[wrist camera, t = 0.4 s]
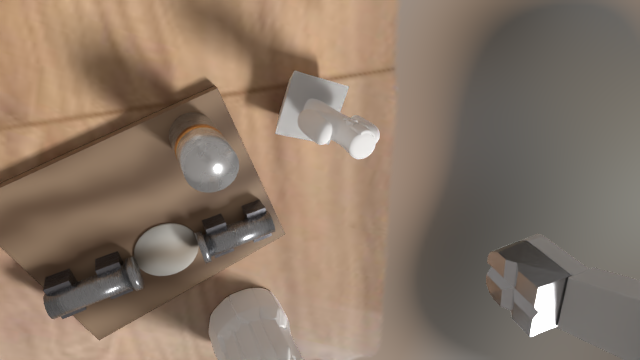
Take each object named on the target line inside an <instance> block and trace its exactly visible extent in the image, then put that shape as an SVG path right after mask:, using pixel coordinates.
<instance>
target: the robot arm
mask: <svg viewBox="0 0 640 360" xmlns="http://www.w3.org/2000/svg"><path fill="white" fill-rule="evenodd" d="M487 263H489V264H490V265H491V266H492V267H491V269H490V270H489V271H488V273H487V276H486V284H487V287H488V290H489V292H490V294H491V296H492V297H493V299H494V300H495V301H496V302H497V303H498V304H499V305H500V306H501V307H503V308H506V309H508V310H511V314H512V319H513V320H514V321H515V322H516V323H517V324H518V325H519V326H520V327H521V328H522V329H523V330H524V331H525V333H526V334H527V335H528V336H529V337H531V336H533V335H536V334H539V333H541V332H544V331H546V330H548V329H551V328H554V327H556V326H558V327H557V328H558V329H560V330H563V331H565V332H567V333H569V334H571V335H573V336H575V337H577V338H579V339H581V340H583V341H585V342H588V343H590V344H592V345H594V346H596V347H598V348H600V349H602V350H604V351H606V352H609V353H611V354H613V355H615V356H617V357H619V358H621V359H623V360H640V280H638V279H634V278H630V277H627V276H623V275H620V274H616V273H613V272H609V271H605V270H602V269H598V268H590V269H589V268H587V267H586V266H584V265H583V264H582V263H580V262H579V261H578V260H576V259H575V258H573V257H572V256H571V255H569V254H568V253H566V252H565V251H564V250H562V249H561V248H560V247H558V246H557V245H556V244H554V243H553V242H552V241H550V240H549V239H547V238H546V237H545V236H543V235H540V234H536V235H534V236H531V237H528V238H526V239H523V240H521V241H517V242H514V243H512V244H509V245H507V246H504V247H502V248H499V249H496V250H494V251H491V252H490V254H489V255H488V262H487Z"/></svg>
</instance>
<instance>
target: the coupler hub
mask: <svg viewBox="0 0 640 360" xmlns="http://www.w3.org/2000/svg"><path fill="white" fill-rule="evenodd" d="M169 140H170V143H171V146H172V148H173V150H174V153H175V155H176V158H177V161H178V163H179V165H180V167H181V170H182V172H183V174H184V177H185V179H186V181H187V182H188V184H189V185H190V186H191V187H193V188H194V189H196V190H198V191H201V192H206V193H211V192H217V191H220V190H222V189H224V188H226V187H227V186H229V185H230V184H231V183H232V182H233V181H234V179H235V178H236V176H237V174H238V170H239V160H238V157H237V155H236V153H235V152H234V150H233V149H232V147H231V146H230V145H229V143H228V142H227V141H226V139H225V138H224V136H223V135H222V134H221V132H220V131H219V130H218V129H217V127H216V126H215V125H214V123H213V122H212V121H211V119H209V118H208V117H207V116H205V115H203V114H201V113H195V112H191V113H186V114H183V115H181V116H179V117H178V118H177V119H176V120H175V121H174V122H173V123H172V125H171V127H170V130H169Z"/></svg>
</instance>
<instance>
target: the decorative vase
mask: <svg viewBox="0 0 640 360" xmlns="http://www.w3.org/2000/svg"><path fill="white" fill-rule="evenodd" d="M208 333H209V337H210V340H211V343H212V347H213V350H214V353H215V355H216V357H217V359H218V360H304V359H303V357H302V355H301V353H300V351H299V349H298V347H297V345H296V343H295V341H294V339H293V338H292V336H291V333H290V326H289V320H288V319H287V316H286V314H285V312H284V310H283V308H282V307H281V305H280V303H279V301H278V299H277V298H276V297H275V295H274V294H273V293H272V292H271V291H268V290H267V289H263V288H252V289H251V288H248V289H244V290H241V291H239V292H236V293H233V294H231V295H230V296H229V297H228V296H227V297H226V298H225V299H224V300H223V301H222V302H221V303H220V304H219V305H218V306H217V307H216V308H215V310H214V311H213V312H212V315H211V316H210V322H209V332H208Z"/></svg>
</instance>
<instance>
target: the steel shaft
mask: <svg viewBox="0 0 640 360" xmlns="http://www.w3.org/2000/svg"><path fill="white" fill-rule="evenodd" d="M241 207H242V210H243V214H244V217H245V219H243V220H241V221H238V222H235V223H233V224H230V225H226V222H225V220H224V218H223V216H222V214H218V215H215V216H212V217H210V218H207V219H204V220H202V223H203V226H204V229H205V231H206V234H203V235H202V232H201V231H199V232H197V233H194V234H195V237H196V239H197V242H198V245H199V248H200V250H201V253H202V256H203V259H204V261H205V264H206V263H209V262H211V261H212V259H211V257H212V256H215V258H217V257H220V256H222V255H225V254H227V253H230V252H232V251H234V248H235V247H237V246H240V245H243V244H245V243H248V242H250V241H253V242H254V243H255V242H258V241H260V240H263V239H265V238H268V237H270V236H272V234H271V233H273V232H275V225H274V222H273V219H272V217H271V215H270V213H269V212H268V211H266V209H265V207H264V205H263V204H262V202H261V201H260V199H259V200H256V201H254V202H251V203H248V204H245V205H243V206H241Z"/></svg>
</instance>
